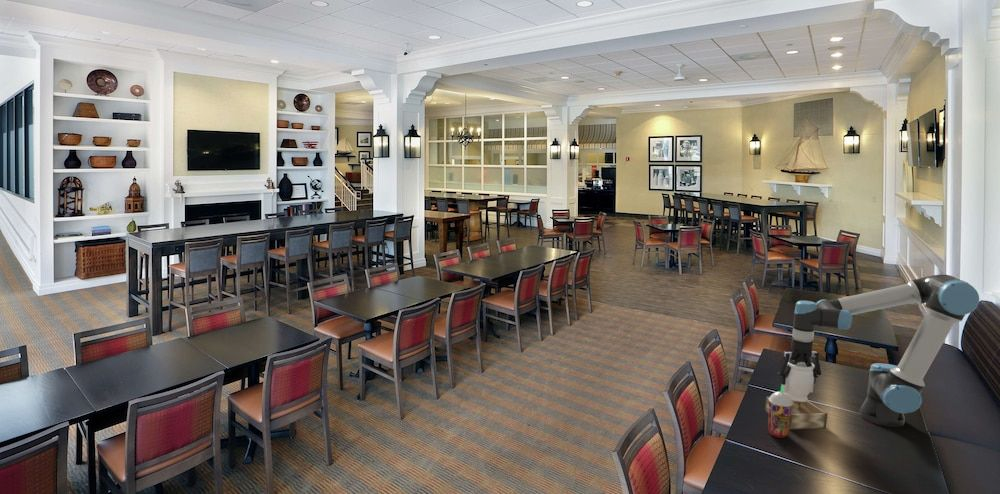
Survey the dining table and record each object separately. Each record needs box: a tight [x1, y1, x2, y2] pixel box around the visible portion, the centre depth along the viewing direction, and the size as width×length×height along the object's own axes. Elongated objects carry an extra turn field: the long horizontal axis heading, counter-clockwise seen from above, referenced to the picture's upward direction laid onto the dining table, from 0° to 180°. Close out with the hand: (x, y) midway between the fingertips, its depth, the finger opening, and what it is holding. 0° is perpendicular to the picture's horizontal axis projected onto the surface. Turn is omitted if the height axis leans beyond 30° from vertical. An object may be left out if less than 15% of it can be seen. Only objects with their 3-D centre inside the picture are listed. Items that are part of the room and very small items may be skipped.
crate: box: [764, 396, 828, 430], centre depth 222 cm, size 16×17×6 cm
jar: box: [786, 360, 814, 402], centre depth 221 cm, size 11×10×15 cm
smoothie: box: [767, 384, 793, 439], centre depth 208 cm, size 8×8×20 cm
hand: (796, 391), depth 221 cm, fingers closed on jar, 10 cm apart
